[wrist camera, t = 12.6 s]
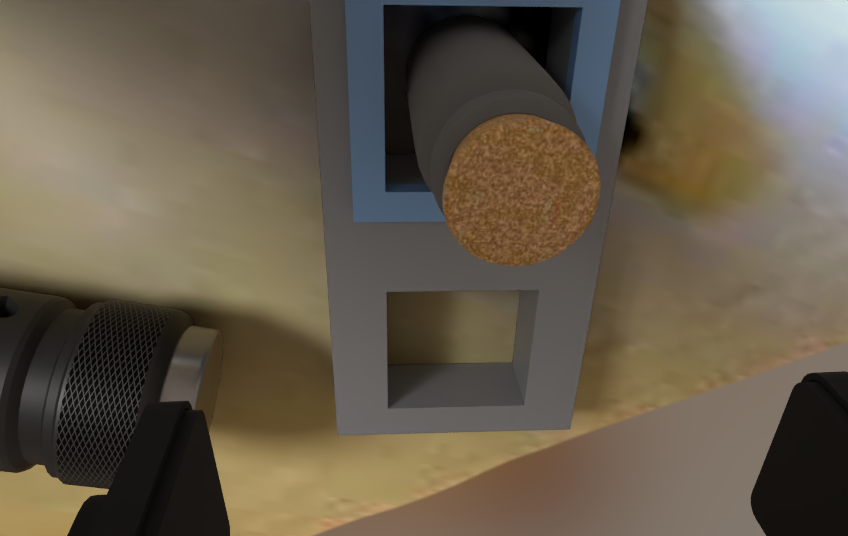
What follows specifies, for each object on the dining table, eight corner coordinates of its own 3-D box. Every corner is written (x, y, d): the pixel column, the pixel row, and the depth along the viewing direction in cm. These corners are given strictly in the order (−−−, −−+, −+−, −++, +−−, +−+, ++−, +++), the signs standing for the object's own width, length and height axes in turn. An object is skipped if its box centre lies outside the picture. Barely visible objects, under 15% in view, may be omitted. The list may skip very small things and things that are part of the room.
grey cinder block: (314, -61, 28) (302, -54, 24) (624, -56, 29) (666, -47, 25) (341, 390, 41) (336, 447, 37) (554, 385, 42) (574, 441, 38)
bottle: (435, -9, 30) (479, 65, 17) (543, 44, 31) (660, 149, 18) (386, 106, 32) (391, 246, 19) (488, 149, 34) (557, 307, 21)
